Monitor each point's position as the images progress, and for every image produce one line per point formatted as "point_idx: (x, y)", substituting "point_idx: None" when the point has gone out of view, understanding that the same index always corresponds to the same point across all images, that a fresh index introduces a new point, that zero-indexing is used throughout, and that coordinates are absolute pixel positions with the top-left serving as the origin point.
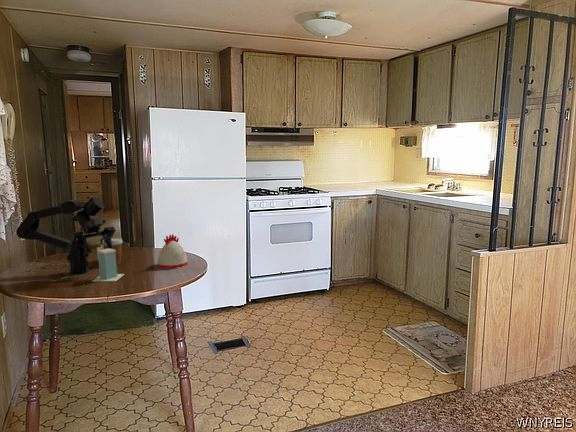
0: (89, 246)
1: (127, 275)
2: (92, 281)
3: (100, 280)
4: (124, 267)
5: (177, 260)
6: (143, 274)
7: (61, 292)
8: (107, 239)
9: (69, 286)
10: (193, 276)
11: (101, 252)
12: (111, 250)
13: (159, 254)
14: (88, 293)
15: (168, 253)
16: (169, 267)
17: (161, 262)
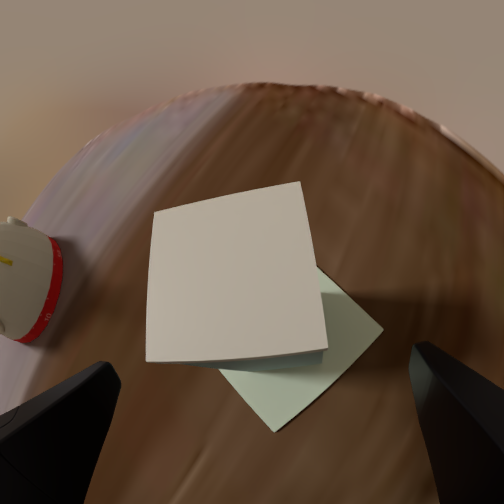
0: (461, 391)
1: None
2: (381, 328)
3: (343, 306)
4: (118, 448)
5: (29, 227)
6: (142, 251)
7: None
8: (28, 467)
9: (487, 324)
10: (108, 132)
11: (312, 250)
12: (198, 208)
13: (7, 299)
14: (435, 162)
15: (11, 235)
16: (57, 247)
17: (43, 272)
